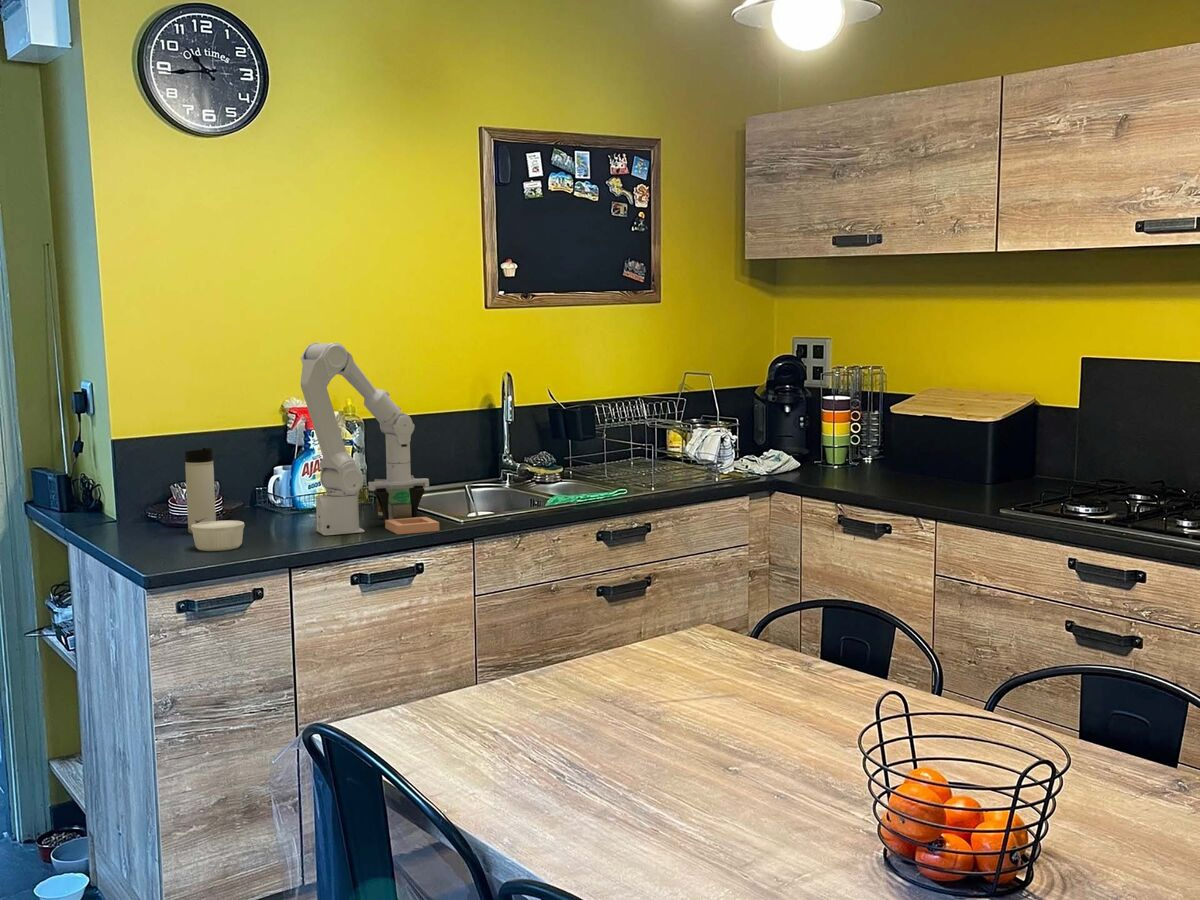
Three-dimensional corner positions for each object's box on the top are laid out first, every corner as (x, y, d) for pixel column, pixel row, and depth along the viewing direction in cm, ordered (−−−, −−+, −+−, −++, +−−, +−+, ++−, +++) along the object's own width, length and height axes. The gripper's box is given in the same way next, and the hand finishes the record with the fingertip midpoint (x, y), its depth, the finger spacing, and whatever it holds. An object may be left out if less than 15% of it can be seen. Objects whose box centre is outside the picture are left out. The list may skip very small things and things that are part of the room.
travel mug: (201, 535, 275) (197, 449, 273) (182, 532, 278) (178, 447, 276) (223, 531, 280) (219, 446, 278) (204, 529, 283) (200, 445, 281)
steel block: (393, 526, 284) (393, 505, 284) (388, 523, 289) (387, 503, 288) (411, 524, 287) (411, 504, 286) (406, 522, 291) (405, 502, 290)
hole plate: (397, 534, 272) (397, 525, 272) (385, 528, 281) (385, 520, 281) (439, 530, 277) (439, 522, 277) (425, 524, 286) (425, 516, 286)
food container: (391, 521, 292) (389, 480, 291) (374, 519, 296) (372, 479, 295) (427, 514, 302) (426, 475, 301) (410, 512, 306) (409, 474, 305)
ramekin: (212, 542, 266) (211, 519, 265) (255, 544, 262) (254, 520, 262) (180, 551, 255) (179, 526, 254) (225, 553, 252) (224, 528, 251)
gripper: (421, 459, 293) (423, 513, 294) (364, 462, 286) (365, 518, 288) (431, 461, 287) (432, 517, 288) (372, 465, 280) (374, 522, 281)
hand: (399, 518), depth 287 cm, fingers open, 6 cm apart
